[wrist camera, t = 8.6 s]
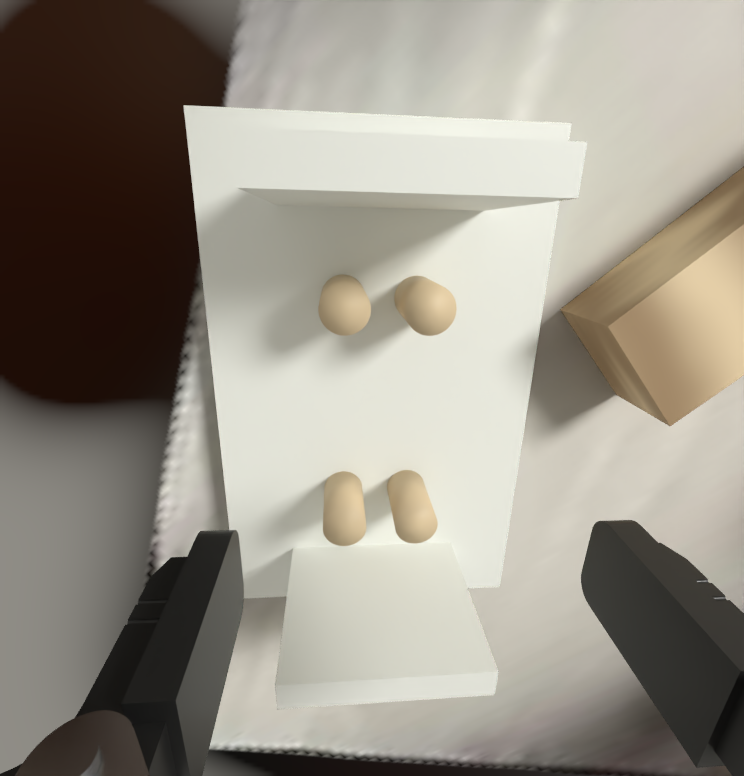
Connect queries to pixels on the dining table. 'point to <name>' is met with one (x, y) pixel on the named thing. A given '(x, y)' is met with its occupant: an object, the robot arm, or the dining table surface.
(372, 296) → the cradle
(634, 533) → the robot arm
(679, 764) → the dining table surface
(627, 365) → the plank
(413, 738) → the dining table surface
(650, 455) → the dining table surface
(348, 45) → the dining table surface
